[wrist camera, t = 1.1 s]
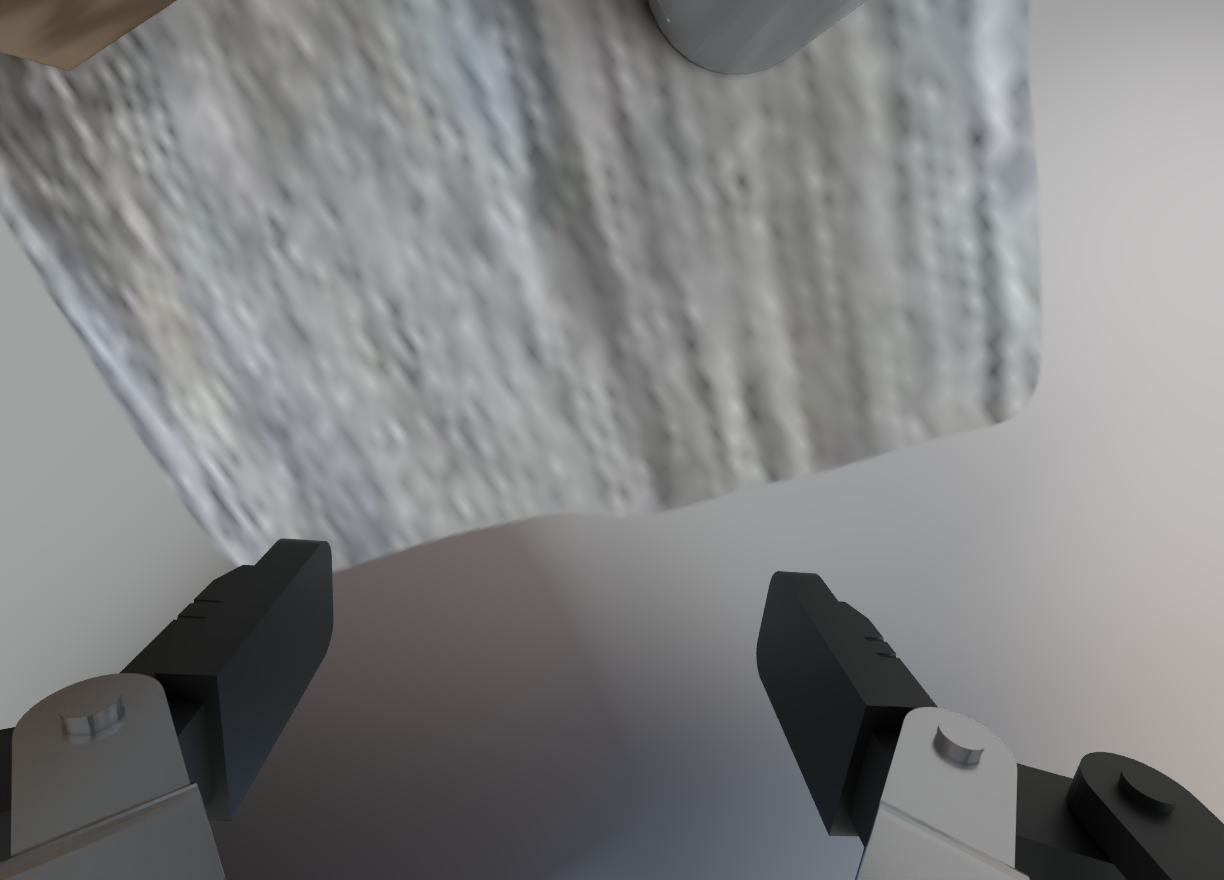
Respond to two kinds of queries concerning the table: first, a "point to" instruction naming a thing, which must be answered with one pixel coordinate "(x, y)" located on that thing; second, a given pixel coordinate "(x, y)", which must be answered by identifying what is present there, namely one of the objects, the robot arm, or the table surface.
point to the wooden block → (69, 27)
